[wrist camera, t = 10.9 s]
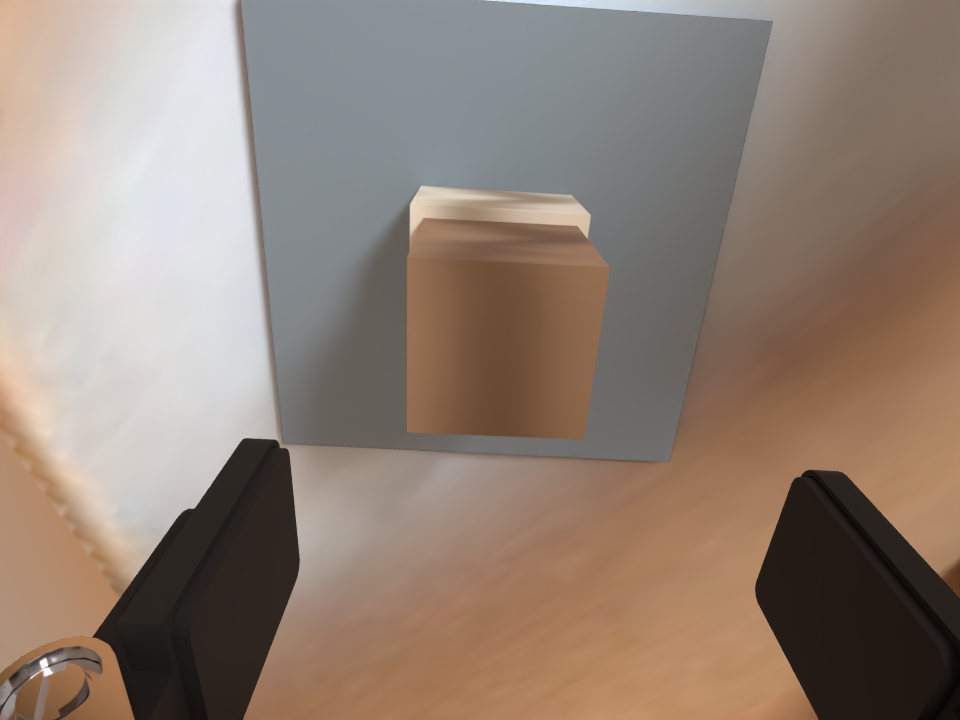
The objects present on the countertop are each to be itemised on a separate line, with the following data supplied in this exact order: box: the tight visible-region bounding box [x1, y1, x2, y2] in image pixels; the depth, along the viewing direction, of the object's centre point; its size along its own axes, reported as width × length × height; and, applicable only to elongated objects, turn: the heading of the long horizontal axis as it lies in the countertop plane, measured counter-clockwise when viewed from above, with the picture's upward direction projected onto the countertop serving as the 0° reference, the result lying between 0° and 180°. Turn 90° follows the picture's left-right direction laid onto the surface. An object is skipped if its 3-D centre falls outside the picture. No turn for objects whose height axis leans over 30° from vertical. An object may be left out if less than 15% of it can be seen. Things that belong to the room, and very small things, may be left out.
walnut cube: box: [407, 218, 610, 440], centre depth 21 cm, size 6×6×6 cm
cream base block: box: [410, 186, 591, 249], centre depth 26 cm, size 7×7×5 cm
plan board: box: [241, 0, 773, 462], centre depth 29 cm, size 22×22×1 cm
